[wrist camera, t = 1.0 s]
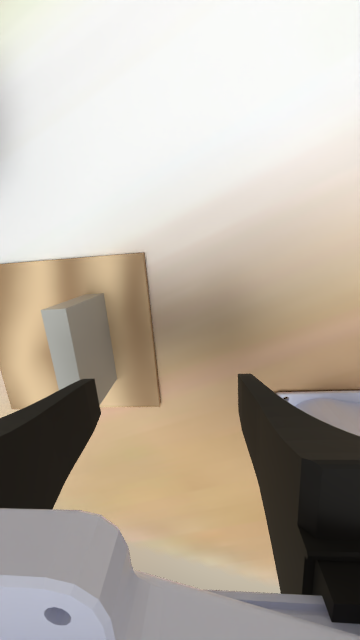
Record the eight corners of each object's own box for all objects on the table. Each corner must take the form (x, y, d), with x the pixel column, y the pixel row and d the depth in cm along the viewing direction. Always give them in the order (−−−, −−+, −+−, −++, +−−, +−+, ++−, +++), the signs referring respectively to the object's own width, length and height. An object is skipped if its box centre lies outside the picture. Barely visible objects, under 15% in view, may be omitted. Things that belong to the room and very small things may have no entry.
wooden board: (144, 252, 20) (142, 252, 19) (160, 402, 23) (159, 406, 23) (-24, 266, 21) (-30, 266, 21) (16, 405, 25) (11, 409, 24)
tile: (103, 293, 20) (65, 308, 15) (117, 379, 22) (88, 422, 17) (83, 294, 20) (38, 310, 15) (98, 379, 23) (64, 422, 17)
